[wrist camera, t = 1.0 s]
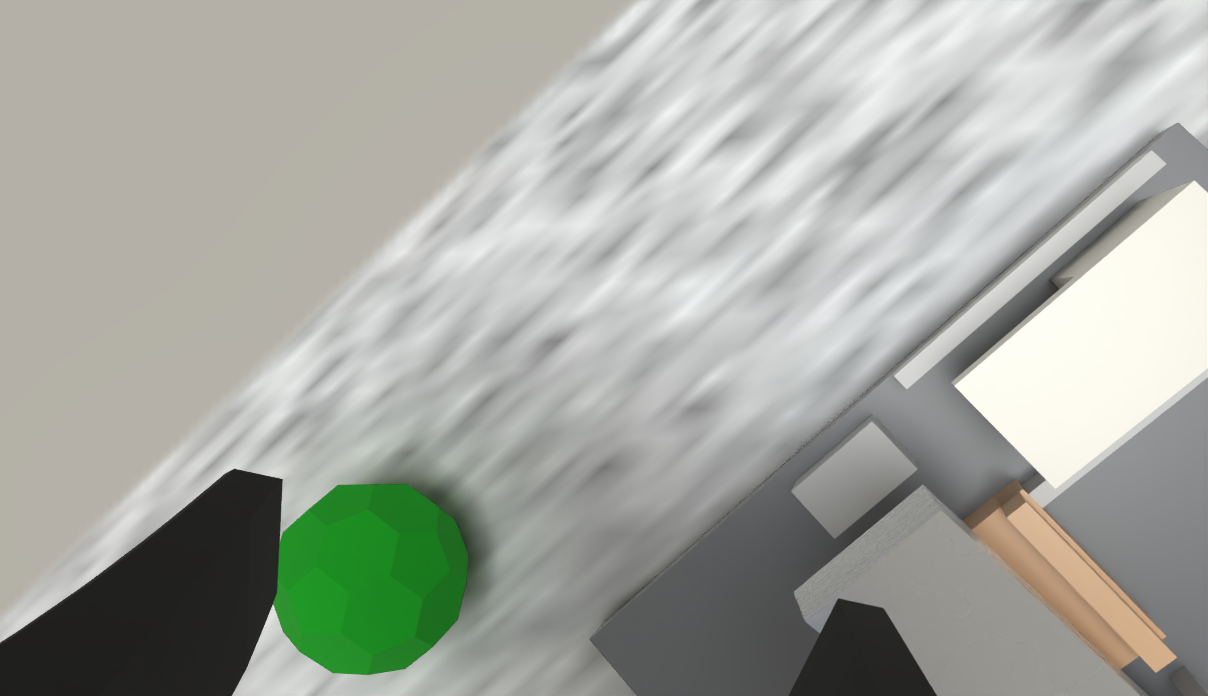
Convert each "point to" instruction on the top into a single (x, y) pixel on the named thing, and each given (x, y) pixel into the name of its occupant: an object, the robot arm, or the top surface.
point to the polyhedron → (370, 578)
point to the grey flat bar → (961, 609)
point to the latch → (1103, 338)
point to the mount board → (957, 502)
